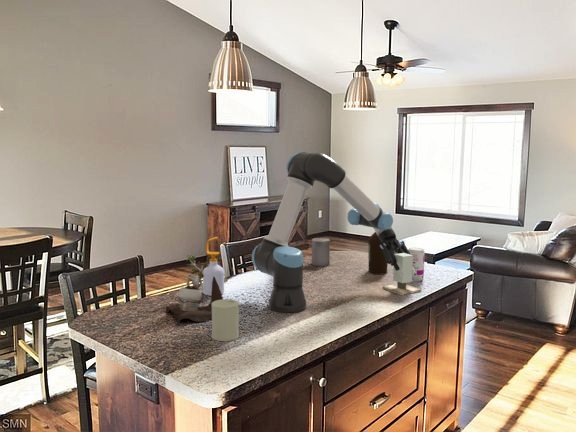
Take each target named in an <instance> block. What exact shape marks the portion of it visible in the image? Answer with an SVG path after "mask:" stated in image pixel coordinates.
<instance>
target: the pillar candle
mask: <svg viewBox="0 0 576 432" xmlns="http://www.w3.org/2000/svg"><path fill="white" fill-rule="evenodd" d="M330 241H331V239H330V238H326V237H314V238H312V239H311V265H313V266H316V267H327V266H329V265H330V262H331V261H330V256H331V255H330V254H331V253H330V252H331V251H330V250H331V248H330V247H331V246H330V245H331V242H330Z"/></svg>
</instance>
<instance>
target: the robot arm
mask: <svg viewBox="0 0 576 432" xmlns="http://www.w3.org/2000/svg"><path fill="white" fill-rule="evenodd" d="M286 170H287V171H286V172H287V176H286V180H287V182H288V184H287V186H286V189H285V192H284V194H283V197H282V199H281V202H280V204H279V207H278V209H277V212H276V215H275V217H274V220H273V222H272V225H271V227H270V230H269V233H268V235H267V236H265V237H263V238H262V241H261V243H259V244H257V245H256V246H255V247H254V249H252V253H251V262H252V264H253V267H254V268H255V269H256V270H258V271H259V272H260V273H262V274H266V275H268V276H271V277H272V278H273V279H272V282H273V283H272V290H271V293H270V297H269V299H268V308H269V309H270V310H272V311H274V312H279V313H297V312H302V311H305V310H306V309H307V300H306V298H305V291H304V289H303V278H304V277H303V273H304V254H303V251H301V250H300V249H298V248H296V247H294V246H293V247H292V246H290V245H289V244H288V243H289V240H290V237H291V234H292V232H293V229H294V226H295V225H296V222H297V218H298V216H299V213H300V211H301V207H302V205H303V203H304V201H305V197H306V195H307V193H308V190H311V189H312V188H313V187H314V184H315V182H318V183H320V184H323V185H325V186H326V187H327V188H328V189H331V190H334V191H335V192H337V194H339V195H340V196H341V197H342V198H343V199H344V200H345V201H346V202H347V203H348V204H349V205H350V206H351V207H353V208H351V209H349V211H348V212H347V218H346V219H347V222H348V223H349V224H350V225H352V226H363V227H368V228H373V229H374V233H375V232H376V234H377V235H378V236H379V239H380V241H381V243H382V244H381V245H380V246H379V248H380V249H381V250H382V252H383V254H384V256H385V258H386V260H387V262H388V265H390V266H392V267H393V269H394V268H395V270H396V271H397V272H398V273H399V275H400V277H401V278H402V277H403V276H404V275H405V273H404V271H403V269H402V267H401V266H400V264H399V262H397V261H396V257H395V255H394V254H399V253H406V254H410V252H409V251H408V250H409V248H407V245H406V244H405V241H404V240H401V241H399V239H397V235H396V233H395V231H394V229H393V227H392V225H393V223H394V219H393V215H392V214H391V213H389V212H386V211H383V209H382V208H381V206H380V205H379V204H378V203H376V202H373V200H372V199H371V198H370V197H368V196H367V195H366V194H365V192H364V191H362V190H361V189H360V188H359V186H357V185H356V184H355V183H354V181H352V180H351V179H350V178H349V177H348V176H347V171H346V170H345V169H344V168H343V167H342V166H341V165H339V163H338V162H336V161H335V160H334V159H333V158H331V157H330V156H328V155H327V154H325V153H321V152H307V151H302V152H295V153H294V154H292V155H291V156H290V157H289V158H288V160H287V163H286ZM410 255H411V254H410ZM396 262H397V263H396ZM415 273H416V271H415V269H414V268H413V266H412V276H413V275H414V274H415Z"/></svg>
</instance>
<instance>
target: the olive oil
mask: <svg viewBox="0 0 576 432" xmlns="http://www.w3.org/2000/svg"><path fill="white" fill-rule="evenodd" d="M381 244H382V243H381V241H380V239H379V236H378V235H377V234H376V232H375V231H374V232H373V233H372V235H370V237H369V238H368V243H367V248H368V251H367V252H368V253H367V255H368V258H367V259H368V271H367V272H369V273H371V274H374V275H375V274H376V275H377V274H378V275H384V274H387V272H388V265H389V264H388V262H387V260H386V258H385V256H384V254H383V252H382V250H381V249H380V248H379V246H380V245H381Z"/></svg>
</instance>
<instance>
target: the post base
mask: <svg viewBox="0 0 576 432" xmlns="http://www.w3.org/2000/svg"><path fill="white" fill-rule="evenodd" d="M382 289H384V290H386V291H388V292H391V293H393V292H394V294H396V293H397V294H396V295H400V296H404V294H405V295H410V294H409V293H411V294H415V293H414V292H416V293H421V292H422V289H421V288H417V287H416V286H412V285H409V284H408V282H406V283H400V282H397V283H395V284H389V285H383V286H382ZM420 291H421V292H420Z"/></svg>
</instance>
